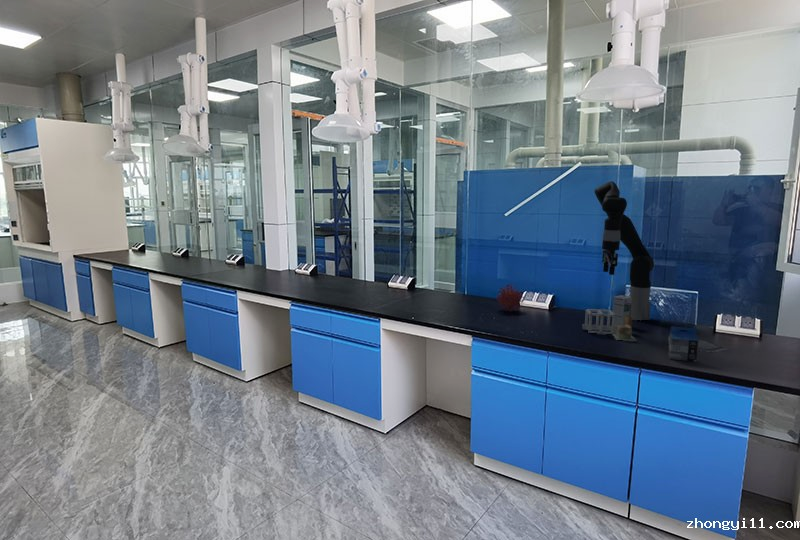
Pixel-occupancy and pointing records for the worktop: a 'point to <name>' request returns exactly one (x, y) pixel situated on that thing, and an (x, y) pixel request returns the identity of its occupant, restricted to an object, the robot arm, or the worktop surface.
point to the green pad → (624, 339)
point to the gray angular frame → (599, 313)
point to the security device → (705, 345)
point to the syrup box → (621, 308)
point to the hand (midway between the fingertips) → (608, 273)
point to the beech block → (623, 331)
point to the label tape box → (683, 344)
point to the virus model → (510, 298)
